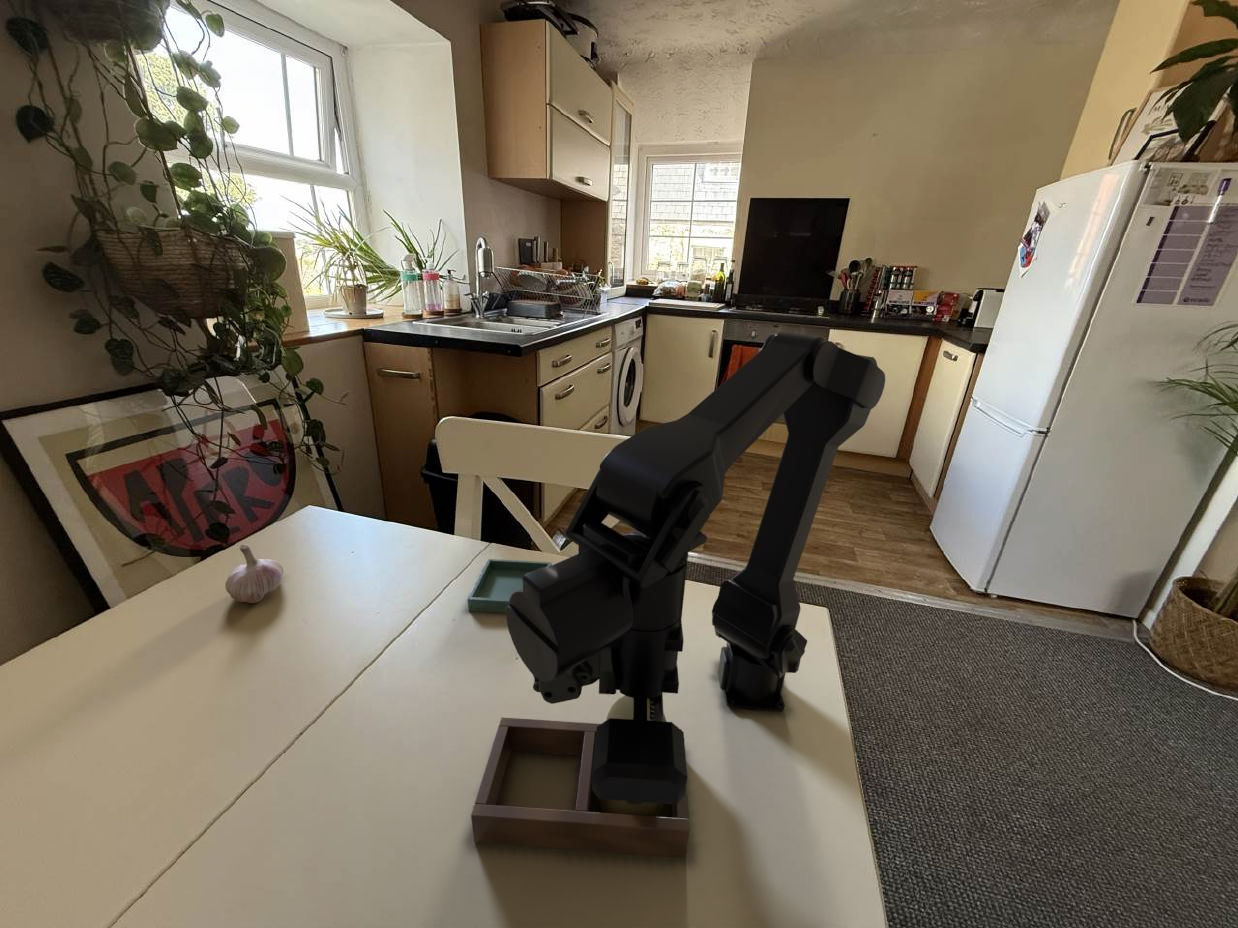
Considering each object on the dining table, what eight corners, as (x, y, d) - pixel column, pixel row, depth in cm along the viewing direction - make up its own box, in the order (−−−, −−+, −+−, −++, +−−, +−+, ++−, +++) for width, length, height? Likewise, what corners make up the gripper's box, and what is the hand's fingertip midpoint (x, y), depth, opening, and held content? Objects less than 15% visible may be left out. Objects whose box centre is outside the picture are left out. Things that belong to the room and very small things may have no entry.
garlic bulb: (253, 613, 67) (238, 563, 64) (213, 601, 69) (196, 552, 66) (301, 581, 74) (289, 534, 71) (263, 571, 76) (250, 526, 72)
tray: (551, 572, 78) (551, 562, 77) (539, 615, 69) (539, 603, 68) (489, 569, 78) (488, 558, 78) (468, 610, 69) (467, 599, 68)
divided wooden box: (678, 753, 50) (681, 728, 49) (686, 857, 41) (690, 831, 40) (503, 741, 51) (501, 716, 49) (473, 842, 42) (470, 815, 41)
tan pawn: (659, 839, 43) (668, 750, 38) (591, 822, 44) (593, 733, 40) (667, 773, 48) (676, 689, 44) (606, 760, 49) (610, 676, 45)
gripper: (558, 536, 46) (560, 663, 52) (509, 700, 29) (520, 861, 35) (677, 542, 46) (665, 670, 52) (698, 712, 29) (676, 873, 35)
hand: (635, 749), depth 44 cm, fingers open, 9 cm apart
